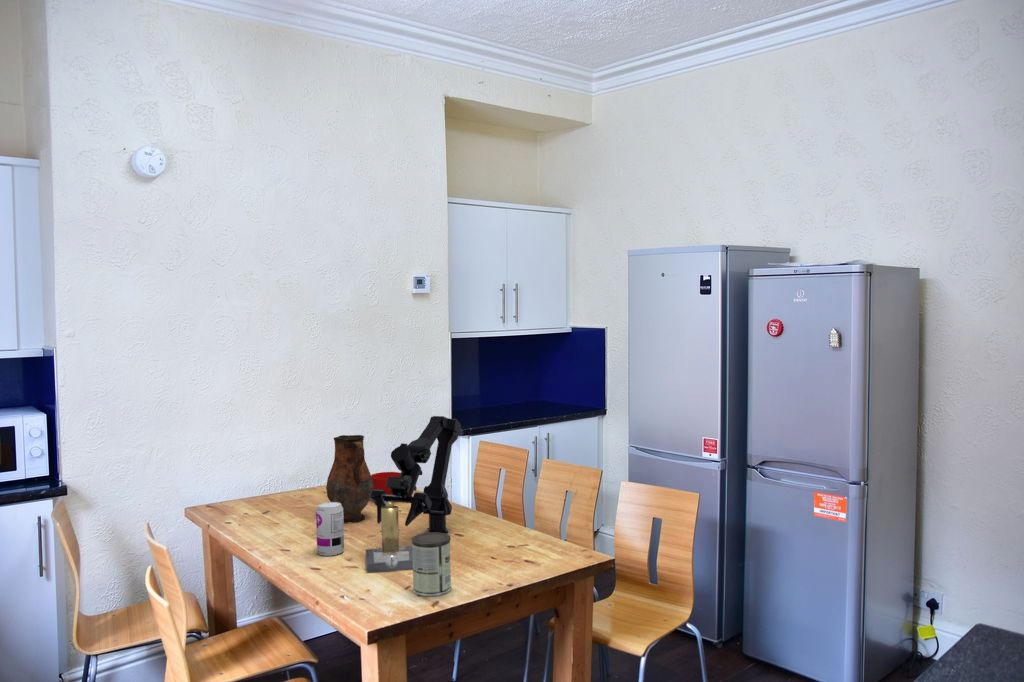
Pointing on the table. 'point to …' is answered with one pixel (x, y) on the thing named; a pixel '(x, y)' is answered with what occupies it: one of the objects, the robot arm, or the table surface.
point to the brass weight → (390, 528)
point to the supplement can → (330, 528)
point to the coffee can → (431, 564)
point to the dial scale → (389, 560)
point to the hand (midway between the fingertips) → (392, 524)
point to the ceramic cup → (383, 481)
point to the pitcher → (350, 477)
